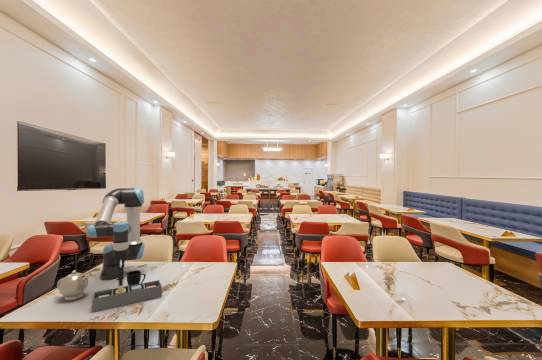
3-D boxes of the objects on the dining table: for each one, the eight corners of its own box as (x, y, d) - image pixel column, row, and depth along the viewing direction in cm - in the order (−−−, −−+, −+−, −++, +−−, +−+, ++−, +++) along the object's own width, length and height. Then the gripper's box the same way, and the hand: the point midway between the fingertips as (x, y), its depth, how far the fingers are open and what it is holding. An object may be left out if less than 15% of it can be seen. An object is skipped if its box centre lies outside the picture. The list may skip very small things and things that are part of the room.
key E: (146, 293, 153) (146, 286, 153) (155, 291, 155) (155, 285, 155) (147, 296, 148) (147, 289, 148) (156, 294, 151) (156, 288, 151)
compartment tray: (93, 304, 141) (93, 292, 141) (159, 290, 159) (159, 280, 159) (92, 312, 133) (92, 299, 133) (161, 297, 150) (161, 285, 150)
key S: (131, 292, 149) (131, 286, 149) (140, 290, 151) (140, 284, 151) (131, 296, 144) (131, 289, 144) (141, 294, 147) (141, 287, 147)
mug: (140, 290, 160) (141, 275, 160) (123, 289, 161) (123, 274, 161) (148, 285, 168) (148, 270, 168) (132, 284, 169) (132, 270, 169)
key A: (98, 302, 140) (98, 296, 140) (109, 300, 143) (109, 294, 143) (98, 306, 136) (98, 299, 136) (109, 304, 139) (109, 297, 139)
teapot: (94, 293, 156) (94, 266, 156) (76, 303, 142) (76, 274, 142) (67, 292, 157) (67, 266, 157) (46, 302, 143) (46, 274, 143)
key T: (115, 296, 144) (115, 290, 144) (125, 294, 147) (125, 288, 147) (115, 300, 140) (115, 293, 140) (125, 297, 143) (125, 291, 143)
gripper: (113, 247, 147) (113, 287, 147) (112, 252, 136) (112, 296, 136) (128, 246, 151) (127, 285, 151) (128, 250, 140) (128, 293, 140)
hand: (120, 290), depth 143 cm, fingers closed
